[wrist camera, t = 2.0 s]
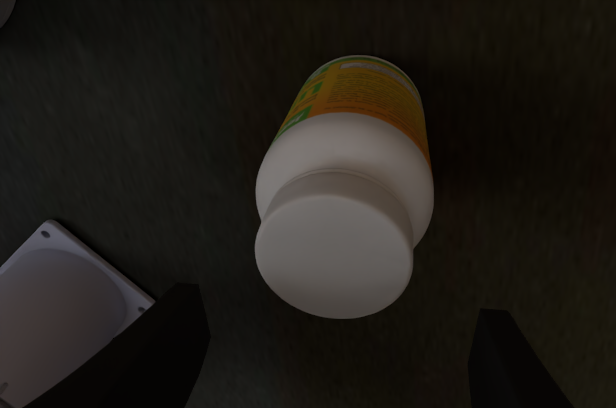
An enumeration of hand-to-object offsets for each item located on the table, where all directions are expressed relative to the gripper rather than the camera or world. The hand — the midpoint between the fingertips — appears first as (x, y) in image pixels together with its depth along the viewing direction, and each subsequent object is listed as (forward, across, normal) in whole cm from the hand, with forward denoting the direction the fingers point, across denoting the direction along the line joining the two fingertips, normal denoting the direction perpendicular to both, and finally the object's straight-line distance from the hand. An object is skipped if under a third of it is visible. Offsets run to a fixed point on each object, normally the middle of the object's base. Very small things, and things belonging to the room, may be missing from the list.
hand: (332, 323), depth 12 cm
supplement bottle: (+10, 0, -2) cm, 10 cm away
